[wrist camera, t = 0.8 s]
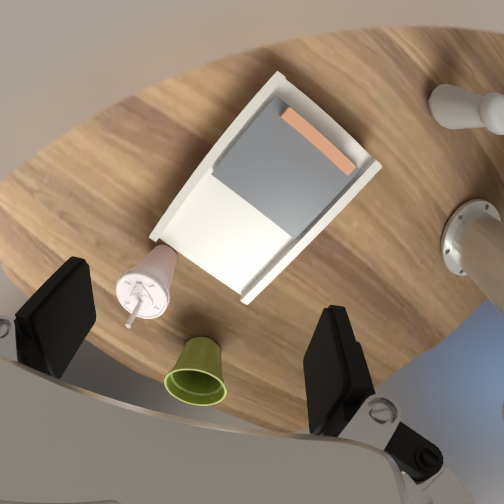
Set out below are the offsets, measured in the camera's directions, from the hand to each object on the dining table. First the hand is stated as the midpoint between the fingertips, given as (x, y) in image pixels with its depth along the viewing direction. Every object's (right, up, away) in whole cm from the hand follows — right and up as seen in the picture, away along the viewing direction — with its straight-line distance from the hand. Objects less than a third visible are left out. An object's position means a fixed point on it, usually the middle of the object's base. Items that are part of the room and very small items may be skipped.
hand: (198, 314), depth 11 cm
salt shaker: (+26, +21, +18) cm, 38 cm away
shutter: (+5, +11, +18) cm, 22 cm away
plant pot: (-6, -14, +37) cm, 40 cm away
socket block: (+3, +10, +24) cm, 27 cm away
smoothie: (-10, +2, +29) cm, 31 cm away
